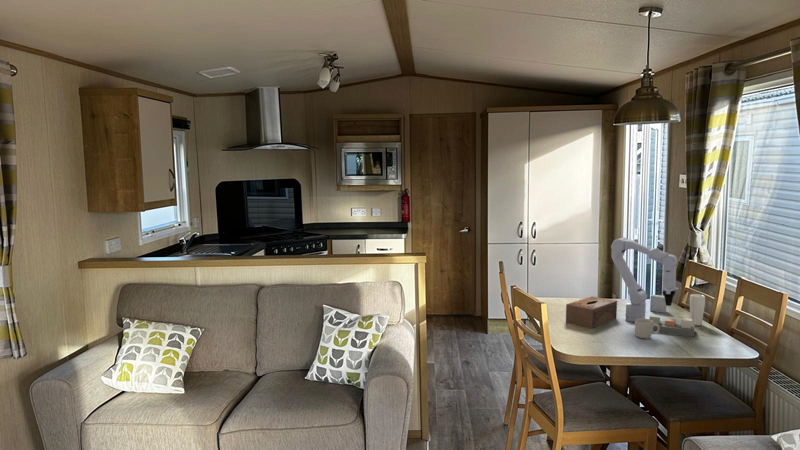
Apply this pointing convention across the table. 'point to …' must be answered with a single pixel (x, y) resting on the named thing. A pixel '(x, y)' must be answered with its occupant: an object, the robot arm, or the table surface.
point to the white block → (686, 323)
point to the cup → (645, 328)
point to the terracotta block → (670, 322)
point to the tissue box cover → (591, 312)
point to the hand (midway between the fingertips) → (668, 305)
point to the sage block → (655, 318)
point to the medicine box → (658, 303)
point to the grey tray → (675, 329)
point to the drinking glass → (697, 308)
